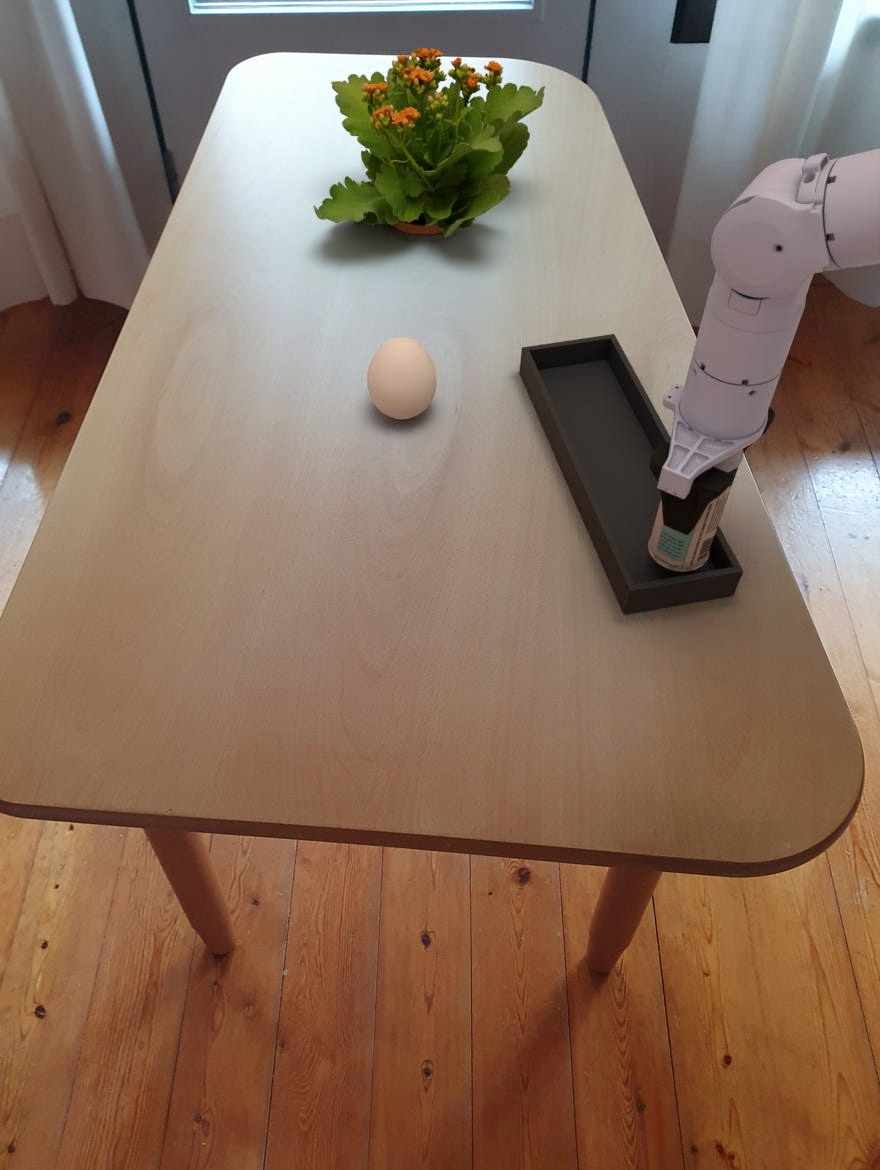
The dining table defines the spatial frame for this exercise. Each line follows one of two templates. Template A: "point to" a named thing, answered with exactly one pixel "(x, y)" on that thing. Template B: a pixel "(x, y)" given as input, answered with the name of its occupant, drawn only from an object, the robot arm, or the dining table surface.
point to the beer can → (692, 548)
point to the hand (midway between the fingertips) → (692, 505)
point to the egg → (401, 378)
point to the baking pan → (616, 468)
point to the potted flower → (429, 144)
